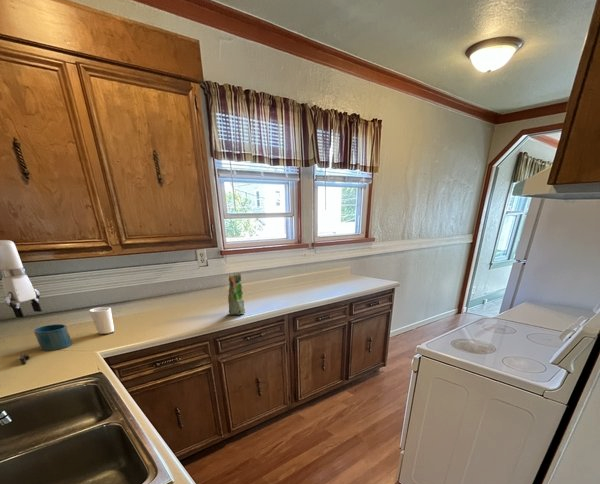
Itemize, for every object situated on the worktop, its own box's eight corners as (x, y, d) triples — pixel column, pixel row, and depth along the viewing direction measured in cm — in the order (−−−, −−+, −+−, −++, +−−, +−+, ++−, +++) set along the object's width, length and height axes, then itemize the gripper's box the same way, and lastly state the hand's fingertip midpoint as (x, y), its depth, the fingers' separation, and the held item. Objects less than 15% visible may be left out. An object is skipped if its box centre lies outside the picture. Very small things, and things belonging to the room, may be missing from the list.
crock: (40, 352, 148) (32, 333, 144) (41, 344, 157) (34, 326, 153) (72, 347, 154) (65, 329, 150) (71, 340, 163) (66, 322, 159)
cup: (91, 334, 171) (84, 310, 165) (107, 329, 179) (100, 306, 174) (105, 336, 168) (98, 312, 162) (121, 331, 176) (115, 307, 170)
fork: (27, 363, 137) (25, 358, 136) (19, 365, 135) (17, 359, 134) (29, 356, 144) (27, 350, 143) (22, 357, 143) (20, 352, 142)
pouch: (243, 310, 214) (239, 271, 203) (248, 315, 205) (245, 273, 193) (226, 312, 210) (222, 272, 199) (231, 317, 200) (227, 275, 189)
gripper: (22, 270, 141) (36, 309, 149) (-15, 276, 126) (3, 319, 133) (38, 270, 141) (52, 309, 148) (4, 276, 125) (21, 319, 133)
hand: (29, 314), depth 141 cm, fingers open, 9 cm apart
